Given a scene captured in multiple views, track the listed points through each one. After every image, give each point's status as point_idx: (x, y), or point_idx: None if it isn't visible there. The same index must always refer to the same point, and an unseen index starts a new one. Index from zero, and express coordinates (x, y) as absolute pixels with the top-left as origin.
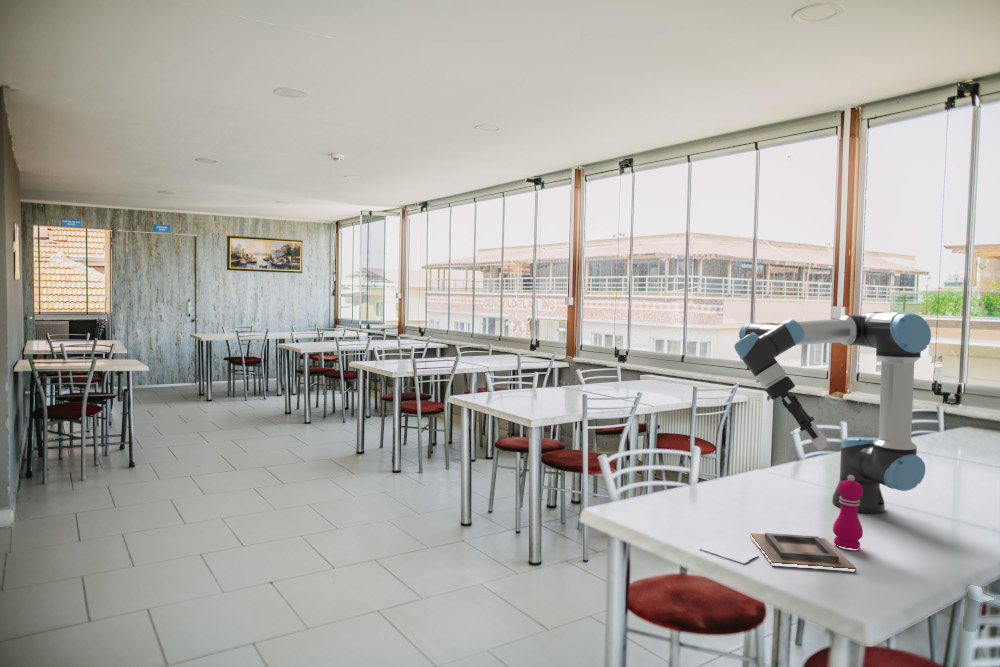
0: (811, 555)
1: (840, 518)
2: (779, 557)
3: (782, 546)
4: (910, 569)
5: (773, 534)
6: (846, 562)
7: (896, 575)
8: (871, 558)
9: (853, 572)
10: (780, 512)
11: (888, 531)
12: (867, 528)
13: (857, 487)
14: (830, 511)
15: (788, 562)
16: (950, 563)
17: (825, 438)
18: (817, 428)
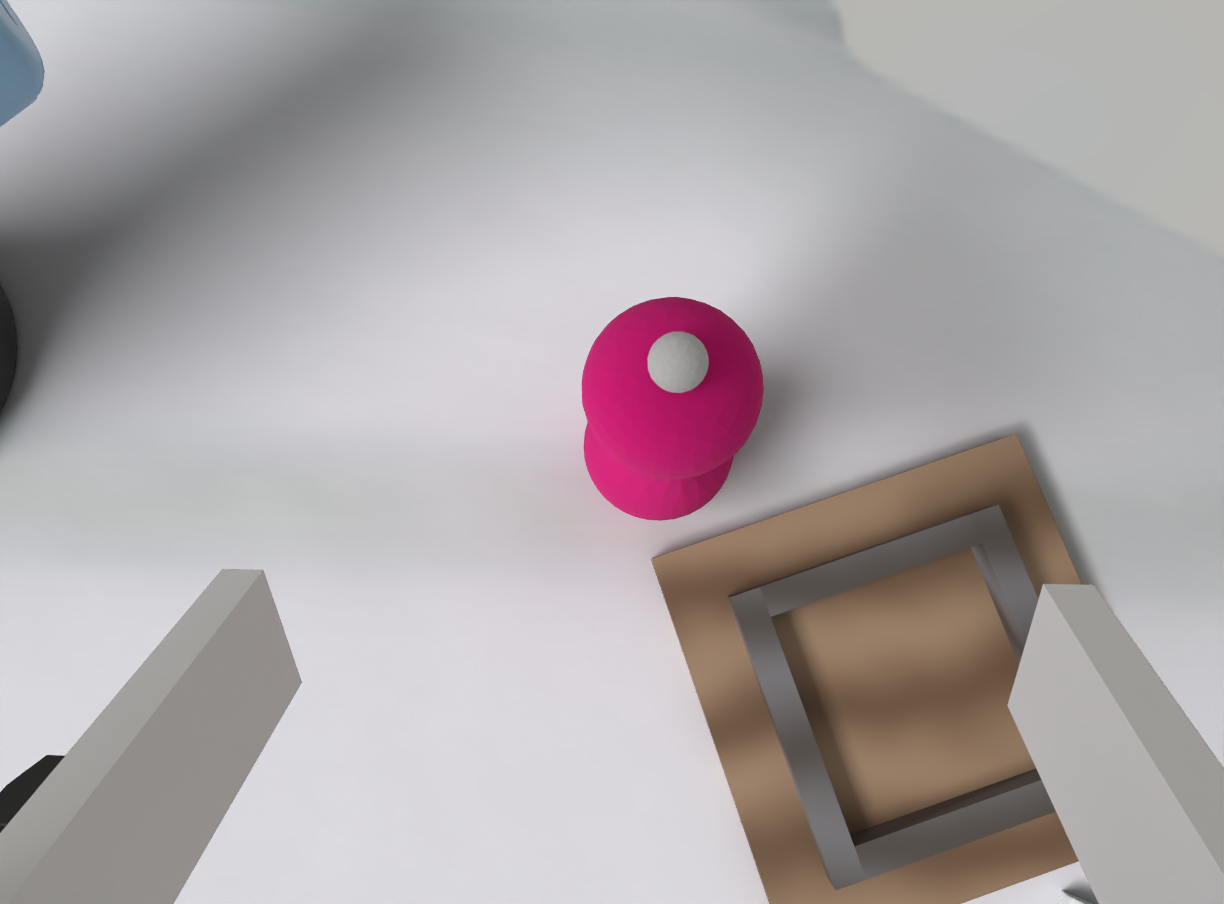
0: None
1: (698, 477)
2: None
3: (917, 777)
4: (817, 215)
5: (837, 841)
6: (969, 471)
7: (931, 277)
8: (765, 359)
9: None
10: None
11: (293, 250)
12: (293, 343)
13: (739, 330)
14: (58, 514)
15: None
16: (638, 54)
17: (242, 602)
18: (110, 786)
